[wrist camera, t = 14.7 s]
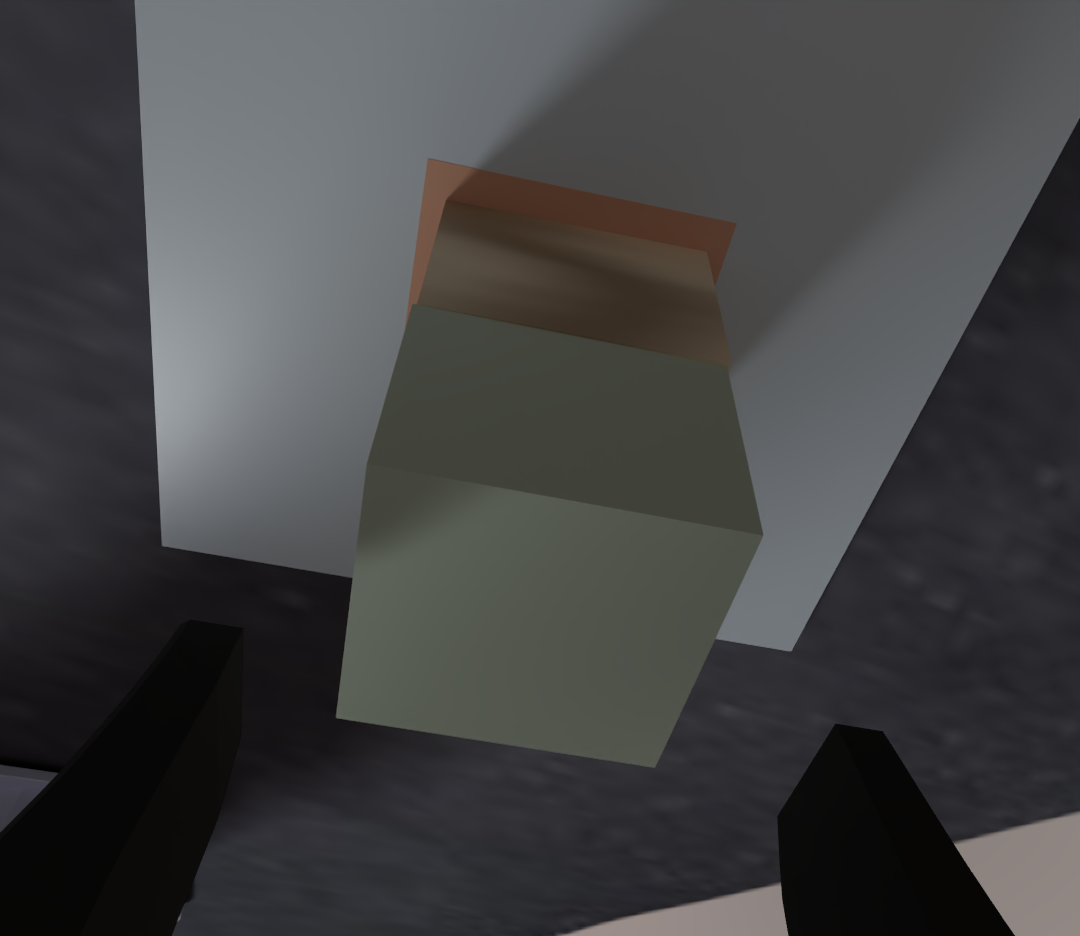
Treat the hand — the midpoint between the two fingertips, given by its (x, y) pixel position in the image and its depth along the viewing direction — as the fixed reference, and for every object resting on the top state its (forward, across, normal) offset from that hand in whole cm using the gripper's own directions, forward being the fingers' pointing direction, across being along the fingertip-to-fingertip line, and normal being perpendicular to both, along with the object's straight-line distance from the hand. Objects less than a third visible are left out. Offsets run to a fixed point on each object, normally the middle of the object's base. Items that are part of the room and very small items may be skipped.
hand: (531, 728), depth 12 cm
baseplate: (+10, 0, 0) cm, 10 cm away
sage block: (+6, 0, 0) cm, 6 cm away
